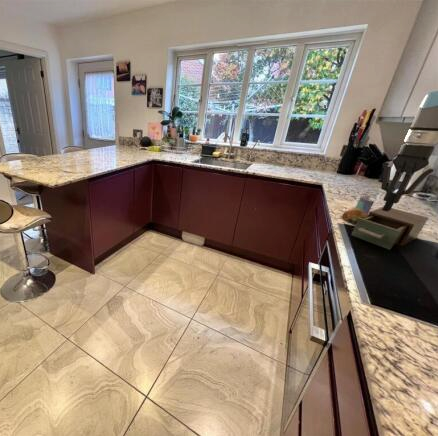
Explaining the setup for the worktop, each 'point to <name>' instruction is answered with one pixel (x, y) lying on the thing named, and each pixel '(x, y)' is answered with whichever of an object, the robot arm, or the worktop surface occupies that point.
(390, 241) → the drawer
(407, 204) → the worktop surface
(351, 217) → the bread roll
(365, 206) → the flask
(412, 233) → the cabinet
